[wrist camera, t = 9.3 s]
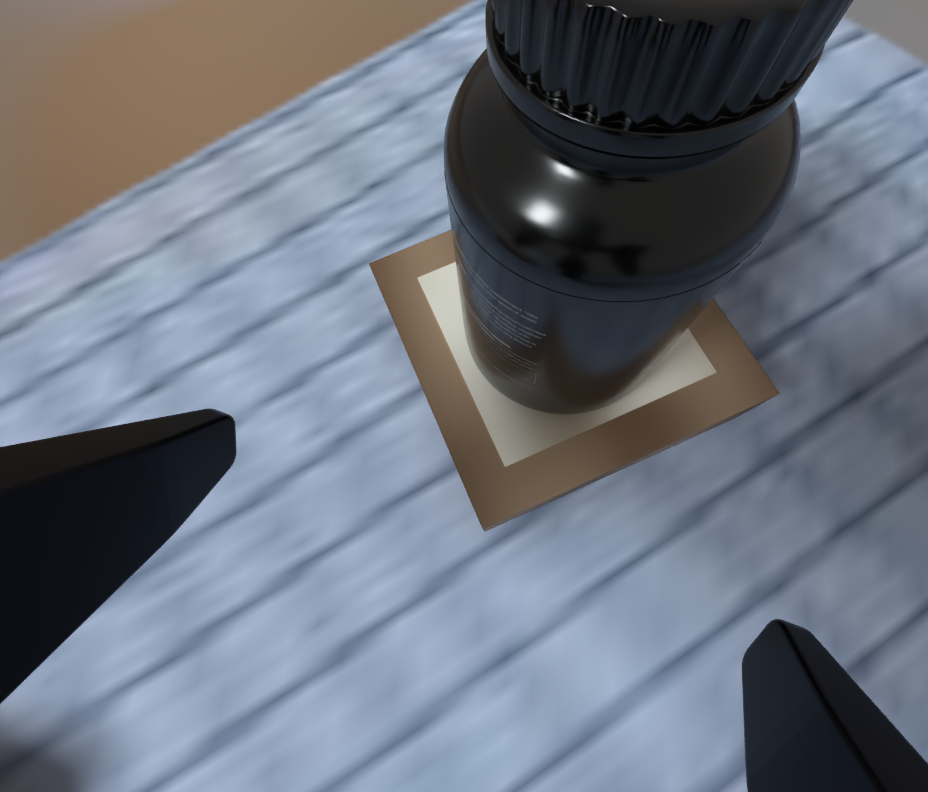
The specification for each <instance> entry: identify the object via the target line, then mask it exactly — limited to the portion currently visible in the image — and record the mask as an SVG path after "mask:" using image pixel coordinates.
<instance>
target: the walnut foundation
mask: <svg viewBox="0 0 928 792" xmlns="http://www.w3.org/2000/svg"><path fill="white" fill-rule="evenodd" d="M369 265H370V267H371V270H372V272H373V274H374V277H375V279H376V281H377V284H378V286H379V288H380V291H381V293H382V295H383V298H384V300H385V302H386V305H387V307H388V309H389V312H390V314H391V316H392V319H393V321H394V323H395V326H396V328H397V330H398V333H399V335H400V337H401V340H402V342H403V344H404V347H405V349H406V351H407V354H408V356H409V358H410V361H411V363H412V365H413V368H414V370H415V372H416V375H417V377H418V379H419V382H420V384H421V386H422V389H423V391H424V393H425V396H426V398H427V400H428V403H429V405H430V407H431V410H432V412H433V414H434V417H435V419H436V421H437V424H438V426H439V428H440V430H441V433H442V435H443V437H444V440H445V442H446V444H447V447H448V449H449V451H450V454H451V456H452V458H453V461H454V463H455V465H456V468H457V470H458V472H459V475H460V477H461V479H462V482H463V484H464V486H465V489H466V491H467V493H468V496H469V498H470V500H471V503H472V505H473V507H474V510H475V512H476V514H477V517H478V519H479V521H480V524H481V526H482V528H483V530H484V531H487V530H489V529H492V528H494V527H496V526H498V525H500V524H503V523H505V522H507V521H509V520H511V519H514V518H516V517H518V516H520V515H522V514H525V513H527V512H529V511H531V510H533V509H536V508H538V507H540V506H542V505H544V504H547V503H549V502H551V501H553V500H555V499H558V498H560V497H562V496H564V495H566V494H569V493H571V492H573V491H575V490H577V489H580V488H582V487H584V486H586V485H588V484H591V483H593V482H595V481H597V480H599V479H602V478H604V477H606V476H608V475H610V474H613V473H615V472H617V471H619V470H621V469H624V468H626V467H628V466H630V465H632V464H635V463H637V462H639V461H641V460H643V459H646V458H648V457H650V456H652V455H654V454H657V453H659V452H661V451H663V450H665V449H668V448H670V447H672V446H674V445H676V444H679V443H681V442H683V441H685V440H687V439H690V438H692V437H694V436H696V435H698V434H701V433H703V432H705V431H707V430H709V429H712V428H714V427H716V426H718V425H720V424H723V423H725V422H727V421H729V420H731V419H734V418H736V417H738V416H740V415H741V414H743V413H745V412H747V411H749V410H751V409H752V408H754V407H756V406H758V405H760V404H762V403H763V402H765V401H767V400H769V399H771V398H773V397H774V396H776V395H778V394H780V393H779V392H778V390H777V389H776V387H775V386H774V385H773V383H772V382H771V380H770V379H769V377H768V376H767V375H766V373H765V372H764V370H763V369H762V367H761V366H760V364H759V363H758V362H757V360H756V359H755V357H754V356H753V354H752V353H751V352H750V350H749V349H748V347H747V346H746V344H745V343H744V342H743V340H742V339H741V337H740V336H739V334H738V333H737V331H736V330H735V329H734V327H733V326H732V324H731V323H730V321H729V320H728V319H727V317H726V316H725V314H724V313H723V311H722V310H721V309H720V307H719V306H718V304H717V303H716V301H715V300H714V298H713V299H712V300H711V301H710V303H709V304H708V305H707V306H706V307H705V308H704V310H703V311H702V312H701V313H700V314H699V315H698V317H697V318H696V319H695V320H694V321H693V322H692V324H691V325H690V326H689V327H688V328H687V329H686V331H685V332H684V333H683V334H682V335H681V336H680V338H679V339H678V340H677V341H676V342H675V343H674V345H673V346H672V347H671V348H670V349H669V350H668V352H667V353H666V354H665V355H664V356H663V357H662V359H661V360H660V361H659V362H658V363H657V364H656V366H655V367H654V368H653V369H652V370H651V371H650V372H649V374H648V375H647V376H646V377H645V378H644V379H643V380H642V381H641V382H640V383H639V384H638V385H637V386H636V387H635V388H634V389H633V390H632V391H631V392H629V393H628V394H627V395H625V396H624V397H622V398H621V399H619V400H618V401H616V402H614V403H612V404H610V405H608V406H606V407H603V408H600V409H597V410H594V411H590V412H586V413H579V414H552V413H545V412H541V411H536V410H533V409H530V408H527V407H525V406H523V405H520V404H518V403H516V402H514V401H513V400H511V399H509V398H507V397H506V396H505V395H503V394H502V393H500V392H499V391H498V390H497V389H496V388H494V387H493V386H492V385H491V384H490V383H489V382H488V381H487V379H486V378H485V377H484V376H483V374H482V373H481V372H480V370H479V369H478V367H477V365H476V364H475V362H474V360H473V358H472V355H471V352H470V350H469V347H468V343H467V339H466V334H465V328H464V322H463V315H462V307H461V299H460V291H459V284H458V276H457V268H456V260H455V252H454V244H453V237H452V230H450V231H447V232H445V233H442V234H440V235H438V236H435V237H433V238H430V239H428V240H425V241H423V242H420V243H418V244H416V245H413V246H411V247H408V248H406V249H403V250H401V251H398V252H396V253H394V254H391V255H389V256H386V257H384V258H381V259H379V260H376V261H374V262H372V263H369Z"/></svg>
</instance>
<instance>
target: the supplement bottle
mask: <svg viewBox="0 0 928 792" xmlns="http://www.w3.org/2000/svg"><path fill="white" fill-rule="evenodd" d="M852 2H853V0H488V1H487V5H486V43H487V49H486V50H485V51H484V52H483V53H482V54H481V55H480V57H479V58H478V59H477V60H476V62H475V63H474V64H473V66H472V67H471V69H470V70H469V72H468V73H467V75H466V76H465V78H464V80H463V82H462V84H461V86H460V88H459V90H458V92H457V94H456V96H455V98H454V101H453V104H452V107H451V109H450V112H449V115H448V120H447V124H446V129H445V136H444V173H445V182H446V190H447V197H448V205H449V213H450V221H451V229H452V237H453V244H454V252H455V260H456V268H457V276H458V284H459V291H460V299H461V307H462V315H463V322H464V328H465V334H466V339H467V343H468V347H469V350H470V352H471V355H472V358H473V360H474V362H475V364H476V365H477V367H478V369H479V370H480V372H481V373H482V374H483V376H484V377H485V378H486V379H487V381H488V382H489V383H490V384H491V385H492V386H493V387H494V388H496V389H497V390H498V391H499V392H500V393H502V394H503V395H505V396H506V397H507V398H509V399H511V400H513V401H514V402H516V403H518V404H520V405H523V406H525V407H527V408H530V409H533V410H536V411H541V412H545V413H552V414H579V413H586V412H590V411H594V410H597V409H600V408H603V407H606V406H608V405H610V404H612V403H614V402H616V401H618V400H619V399H621V398H622V397H624V396H625V395H627V394H628V393H629V392H631V391H632V390H633V389H634V388H635V387H636V386H637V385H638V384H639V383H640V382H641V381H642V380H643V379H644V378H645V377H646V376H647V375H648V374H649V372H650V371H651V370H652V369H653V368H654V367H655V366H656V364H657V363H658V362H659V361H660V360H661V359H662V357H663V356H664V355H665V354H666V353H667V352H668V350H669V349H670V348H671V347H672V346H673V345H674V343H675V342H676V341H677V340H678V339H679V338H680V336H681V335H682V334H683V333H684V332H685V331H686V329H687V328H688V327H689V326H690V325H691V324H692V322H693V321H694V320H695V319H696V318H697V317H698V315H699V314H700V313H701V312H702V311H703V310H704V308H705V307H706V306H707V305H708V304H709V303H710V301H711V300H712V299H713V298H714V297H715V296H716V294H717V293H718V292H719V291H720V290H721V289H722V287H723V286H724V285H725V284H726V283H727V282H728V280H729V279H730V278H731V277H732V276H733V275H734V273H735V272H736V271H737V270H738V269H739V268H740V266H741V265H742V264H743V263H744V262H745V261H746V259H747V258H748V257H749V256H750V255H751V254H752V252H753V251H754V250H755V249H756V248H757V246H758V245H759V244H760V243H761V242H762V240H763V239H764V237H765V236H766V235H767V233H768V232H769V231H770V229H771V228H772V226H773V225H774V224H775V222H776V221H777V219H778V218H779V216H780V215H781V213H782V211H783V209H784V207H785V205H786V203H787V201H788V199H789V197H790V194H791V191H792V189H793V186H794V183H795V179H796V174H797V170H798V165H799V158H800V144H801V135H800V122H799V115H798V110H797V106H796V102H795V97H796V96H797V94H798V93H799V91H800V90H801V88H802V87H803V85H804V84H805V82H806V81H807V79H808V78H809V76H810V75H811V73H812V72H813V70H814V68H815V67H816V65H817V63H818V61H819V59H820V57H821V55H822V52H823V49H824V46H825V43H826V41H827V40H828V38H829V37H830V35H831V34H832V32H833V31H834V29H835V28H836V26H837V25H838V23H839V22H840V20H841V18H842V17H843V15H844V14H845V12H846V11H847V9H848V7H849V6H850V5H851V3H852Z"/></svg>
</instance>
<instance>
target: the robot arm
mask: <svg viewBox="0 0 928 792" xmlns="http://www.w3.org/2000/svg"><path fill="white" fill-rule="evenodd" d="M235 457H236V432H235V421H234V419H233V417H232V416H230V415H229V414H226V413H223V412H220V411H218V410H215V409H203V410H198V411H192V412H187V413H182V414H176V415H171V416H166V417H160V418H155V419H149V420H144V421H139V422H133V423H128V424H123V425H117V426H112V427H106V428H101V429H96V430H90V431H85V432H80V433H74V434H69V435H63V436H58V437H53V438H47V439H42V440H37V441H31V442H26V443H20V444H15V445H10V446H4V447H0V704H1V703H2V702H3V701H4V700H5V699H6V698H7V697H8V696H9V695H10V694H11V693H12V692H13V691H14V690H15V689H16V688H17V687H18V686H19V685H20V684H21V683H22V682H23V681H24V680H25V679H26V678H27V677H28V676H29V675H30V674H31V673H32V672H33V671H34V670H36V669H37V668H38V667H39V666H40V665H41V664H42V663H43V662H44V661H45V660H46V659H47V658H48V657H49V656H50V655H51V654H52V653H53V652H54V651H55V650H56V649H57V648H58V647H59V646H60V645H61V644H62V643H63V642H64V641H65V640H66V639H67V638H68V637H69V636H70V635H71V634H72V633H73V632H74V631H75V630H76V629H77V628H79V627H80V626H81V625H82V624H83V623H84V622H85V621H86V620H87V619H88V618H89V617H90V616H91V615H92V614H93V613H94V612H95V611H96V610H97V609H98V608H99V607H100V606H101V605H102V604H103V603H104V602H105V601H106V600H107V599H108V598H109V597H110V596H111V595H112V594H113V593H114V592H115V591H116V590H117V589H118V588H119V587H120V586H122V585H123V584H124V583H125V582H126V581H127V580H128V579H129V578H130V577H131V576H132V575H133V574H134V573H135V572H136V571H137V570H138V569H139V568H140V567H141V566H142V565H143V564H144V563H145V562H146V561H147V560H148V559H149V558H150V557H151V556H152V555H153V554H154V553H155V552H156V551H157V550H158V549H159V548H160V547H161V546H162V545H163V544H164V543H165V542H166V541H167V540H168V539H169V538H170V537H171V536H172V535H173V534H174V533H175V532H176V531H177V530H178V529H179V527H180V526H181V525H182V524H183V523H184V522H185V521H186V519H187V518H188V517H189V516H190V515H191V514H192V512H193V511H194V510H195V509H196V508H197V506H198V505H199V504H200V503H201V502H202V501H203V499H204V498H205V497H206V496H207V495H208V494H209V492H210V491H211V490H212V489H213V488H214V486H215V485H216V484H217V483H218V482H219V481H220V479H221V478H222V477H223V476H224V475H225V473H226V472H227V471H228V470H229V469H230V467H231V466H232V464H233V463H234V460H235ZM742 685H743V711H744V738H745V763H746V778H747V788H748V792H928V763H927V762H926V761H925V760H924V759H923V758H922V757H921V755H920V754H919V753H918V752H917V751H916V750H915V749H914V748H913V746H912V745H911V744H910V743H909V742H908V741H907V740H906V739H905V737H904V736H903V735H902V734H901V733H900V732H899V731H898V730H897V728H896V727H895V726H894V725H893V724H892V723H891V722H890V721H889V719H888V718H887V717H886V716H885V715H884V714H883V713H882V712H881V711H880V709H879V708H878V707H877V706H876V705H875V704H874V703H873V702H872V700H871V699H870V698H869V697H868V696H867V695H866V694H865V693H864V691H863V690H862V689H861V688H860V687H859V686H858V685H857V684H856V682H855V681H854V680H853V679H852V678H851V677H850V676H849V675H848V673H847V672H846V671H845V670H844V669H843V668H842V667H841V666H840V665H839V663H838V662H837V661H836V660H835V659H834V658H833V657H832V656H831V654H830V653H829V652H828V651H827V650H826V649H825V648H824V647H823V645H822V644H821V643H820V642H819V641H818V640H817V639H816V638H815V636H814V635H813V634H812V633H811V632H810V631H808V630H807V629H805V628H803V627H800V626H797V625H795V624H792V623H789V622H787V621H784V620H781V619H775V620H772V621H770V622H769V623H768V624H767V626H766V627H765V628H764V629H763V631H762V632H761V633H760V634H759V636H758V637H757V638H756V639H755V640H754V642H753V643H752V644H751V645H750V647H749V648H748V649H747V651H746V652H745V655H744V657H743V662H742Z"/></svg>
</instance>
